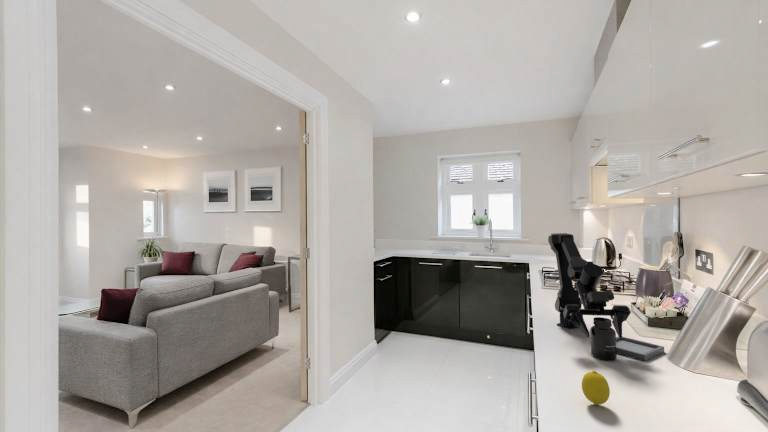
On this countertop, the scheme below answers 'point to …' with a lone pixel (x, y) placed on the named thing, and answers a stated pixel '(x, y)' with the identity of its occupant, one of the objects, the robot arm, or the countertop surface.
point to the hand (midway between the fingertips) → (604, 336)
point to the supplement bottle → (603, 339)
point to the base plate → (637, 348)
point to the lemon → (595, 387)
